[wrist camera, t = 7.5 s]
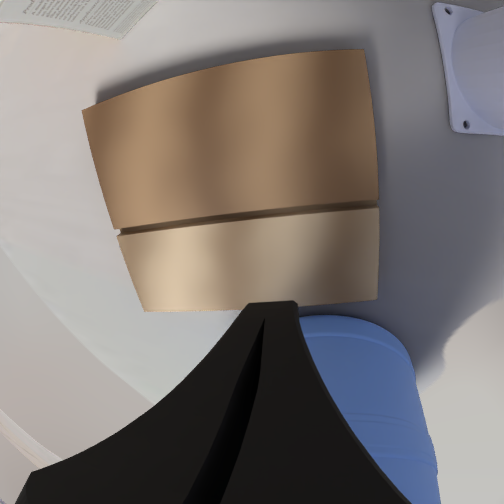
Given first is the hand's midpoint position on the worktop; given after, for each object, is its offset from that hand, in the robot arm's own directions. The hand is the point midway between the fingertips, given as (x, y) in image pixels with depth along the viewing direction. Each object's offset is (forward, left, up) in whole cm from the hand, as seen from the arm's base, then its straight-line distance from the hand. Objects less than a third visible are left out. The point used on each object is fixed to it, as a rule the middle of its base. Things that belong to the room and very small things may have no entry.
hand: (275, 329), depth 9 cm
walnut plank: (+3, -4, -10) cm, 12 cm away
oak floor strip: (+3, +3, -10) cm, 11 cm away
